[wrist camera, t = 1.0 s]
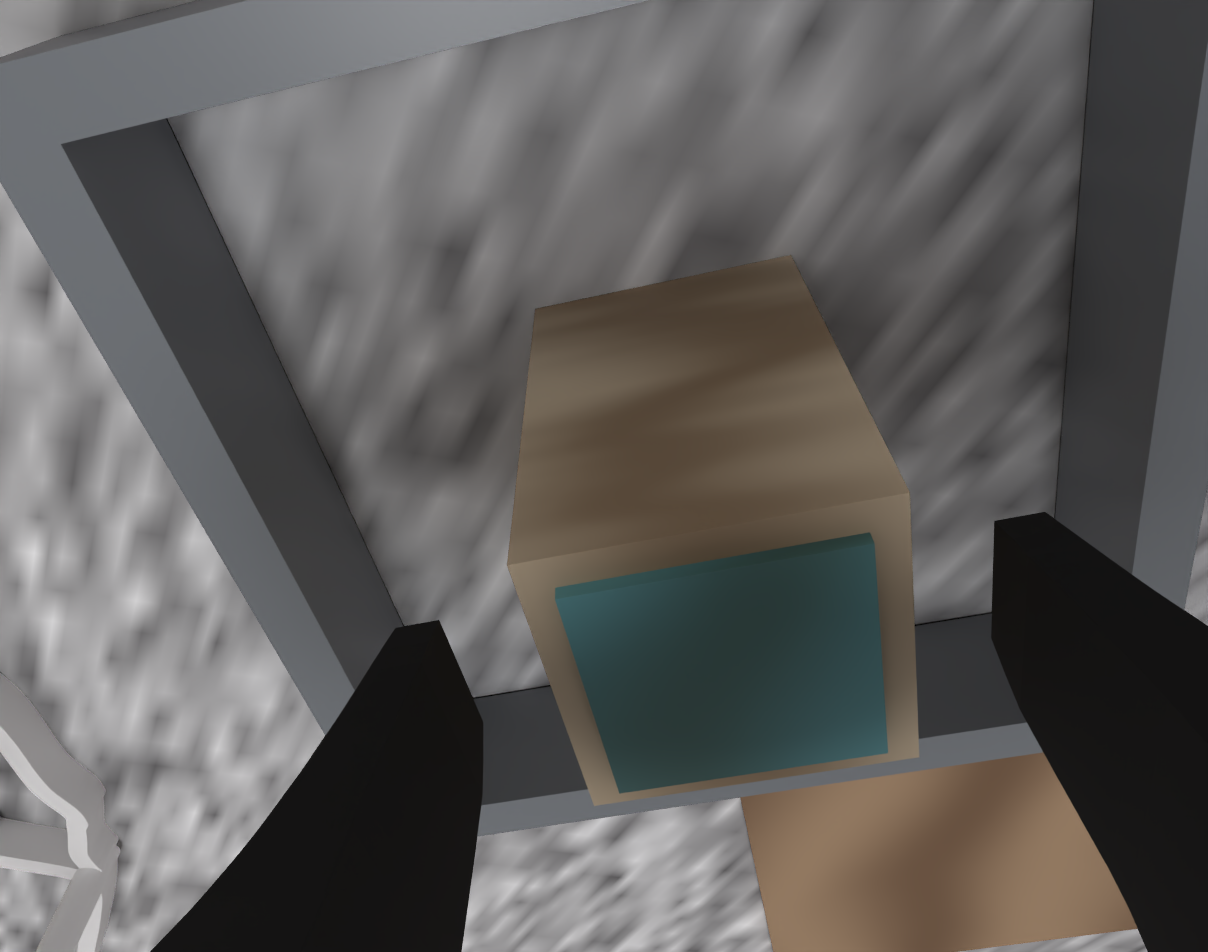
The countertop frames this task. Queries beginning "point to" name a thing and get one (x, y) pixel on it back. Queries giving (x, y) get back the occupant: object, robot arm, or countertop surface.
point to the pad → (930, 862)
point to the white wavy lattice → (71, 853)
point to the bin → (298, 467)
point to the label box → (712, 539)
